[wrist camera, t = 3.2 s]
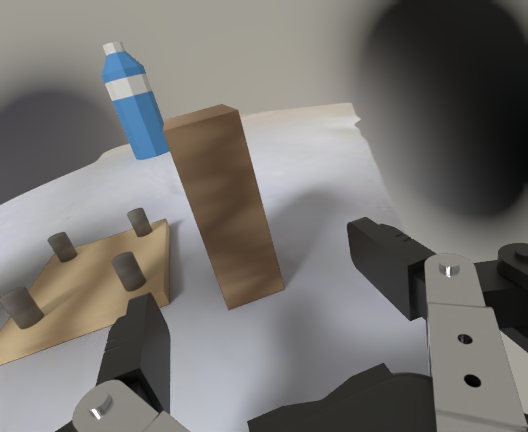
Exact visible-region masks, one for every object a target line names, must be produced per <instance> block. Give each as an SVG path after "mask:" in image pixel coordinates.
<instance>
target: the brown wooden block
mask: <svg viewBox="0 0 528 432" xmlns="http://www.w3.org/2000/svg"><path fill="white" fill-rule="evenodd" d="M163 133H164V136H165V139H166V141H167V144H168V147H169V150H170V152H171V155H172V158H173V161H174V163H175V166H176V169H177V171H178V174H179V177H180V180H181V182H182V185H183V188H184V190H185V193H186V196H187V199H188V201H189V204H190V207H191V209H192V212H193V215H194V218H195V220H196V223H197V226H198V228H199V231H200V234H201V237H202V239H203V242H204V245H205V247H206V250H207V253H208V256H209V258H210V261H211V264H212V267H213V269H214V272H215V275H216V277H217V280H218V283H219V286H220V288H221V291H222V294H223V296H224V299H225V302H226V305H227V307H228V310H231V309H233V308H236V307H239V306H241V305H244V304H247V303H249V302H252V301H255V300H257V299H260V298H263V297H265V296H268V295H271V294H273V293H276V292H279V291H281V290H284V285H283V281H282V277H281V273H280V269H279V265H278V262H277V258H276V254H275V250H274V246H273V242H272V239H271V235H270V231H269V227H268V223H267V219H266V215H265V212H264V208H263V204H262V200H261V196H260V192H259V189H258V185H257V181H256V177H255V173H254V169H253V165H252V162H251V158H250V154H249V150H248V146H247V142H246V139H245V135H244V131H243V127H242V123H241V119H240V115H239V112H238V110H237V109H234V108H231V107H228V106H225V105H223V104H221V105H217V106H214V107H210V108H207V109H203V110H199V111H196V112H192V113H188V114H184V115H181V116H177V117H174V118H170V119H167V120H165V121H164V127H163Z"/></svg>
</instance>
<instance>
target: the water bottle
mask: <svg viewBox="0 0 528 432" xmlns="http://www.w3.org/2000/svg"><path fill="white" fill-rule="evenodd" d="M103 48H104V51H105V53H106V60H105V64H104V68H103V73H102V78H103V80H104V83H105V85H106V88H107V90H108V92H109V95H110V97H111V100H112V102H113V104H114V107H115V109H116V111H117V114H118V116H119V119H120V121H121V123H122V126H123V128H124V130H125V133H126V135H127V138H128V140H129V143H130V145H131V147H132V150H133V152H134V155H135V157H136V159H147V158H151V157H155V156H158V155H161V154H163V153H166V152H168V151H170V150H169V147H168V144H167V141H166V139H165V136H164V133H163V127H164V122H163V120H162V117H161V114H160V111H159V109H158V106H157V103H156V100H155V97H154V94H153V92H152V89H151V86H150V83H149V81H148V78H147V75H146V72H145V70H144V67H143V65H141V64H140V63H139V62H138V61H136V60H135V59H134V58H133V57H131V56H130V55H129V54H128V53H127V52H126V51H125V49H124V46H123V44H122V42H113V43H109V44H105V45H104V46H103Z"/></svg>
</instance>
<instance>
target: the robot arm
mask: <svg viewBox="0 0 528 432" xmlns="http://www.w3.org/2000/svg"><path fill="white" fill-rule="evenodd" d="M347 232H348V239H349V246H350V254H351V258H352V261H353V263H354V265H355V267H356V268H357V269H358V270H359V271H360V272H361V273H362V274H363V275H364V276H365V277H366V278H367V279H368V280H369V281H370V282H371V283H372V284H373V285H374V286H375V287H376V288H377V289H378V290H379V291H380V292H381V293H382V294H383V295H384V296H385V297H386V298H387V299H388V300H389V301H390V302H391V303H392V304H393V305H394V306H395V307H396V308H397V309H398V310H399V311H400V312H401V313H402V314H403V315H404V316H405V317H406V318H407V319H408V320H409V321H412V320H415V319H417V318H420V317H423V318H424V319H425V320H426V338H427V356H428V375H429V376H426V375H422V374H416V373H405V372H404V373H391V372H390V371H389V369H388V368H387V367H386V365H385V364H384V363H382V364H380V365H377V366H375V367H373V368H370V369H368V370H366V371H363V372H361V373H359V374H356V375H354V376H352V377H350V378H349V379H348V380H347V381H345V382H344V383H343V384H342V385H340V386H339V387H338V388H337V389H335V390H334V391H333V392H331V393H330V394H329V395H328V396H326V397H325V398H324V399H322V400H319V401H313V402H306V403H300V404H294V405H287V406H282V407H280V408H277V409H275V410H273V411H270V412H268V413H266V414H263V415H261V416H259V417H256V418H254V419H252V420H249V421H247V423H248V427H249V431H250V432H528V414H525V413H524V412H523V410H522V406H521V403H520V399H519V396H518V392H517V389H516V385H515V382H514V379H513V375H512V372H511V369H510V365H509V362H508V358H507V355H506V351H505V348H504V345H503V341H502V338H501V334H500V331H502V332H503V333H504V334H505V335H507V336H508V337H509V338H510V339H512V340H513V341H514V342H515V343H516V344H518V345H519V346H520V347H521V348H523V349H524V350H525V351H527V352H528V244H526V243H514V244H508V245H505V246H503V247H501V248H500V249H499V251H498V260H494V261H486V262H480V263H472V262H471V261H470V260H469V259H467V258H465V257H463V256H460V255H456V254H448V253H444V254H436V253H434V252H432V251H431V250H430V249H428V248H426V247H425V246H423V245H421V244H420V243H418V242H417V241H415V240H414V239H411V237H409V236H408V235H406V234H404V233H403V232H401V231H400V230H398V229H396V228H395V227H392V226H388V225H385V224H380V225H378V224H376V223H375V222H373V221H372V220H370V219H369V218H367V217H363V218H360V219H357V220H355V221H352V222H349V223H348V224H347ZM499 330H500V331H499ZM55 432H190V431H189V430H187V429H186V428H185V427H184V426H183V425H181V424H180V423H179V422H178V421H177V420H175V419H174V418H173V417H172V416H171V415H170V333H169V329H168V326H167V323H166V321H165V319H164V317H163V315H162V313H161V311H160V309H159V307H158V305H157V303H156V300H155V298H154V296H153V295H152V293H150V292H149V293H146V294H143V295H140V296H137V297H134V298H131V299H129V301H128V306H127V311H126V315H124V316H121V317H119V318H118V319H117V320H116V322H115V323H114V324H113V326H112V327H111V329H110V331H109V335H108V339H107V343H106V347H105V353H104V355H103V359H102V363H101V367H100V371H99V375H98V379H97V383H96V386H95V387H94V388H93V389H92V390H90V391H89V392H88V393H87V394H86V395H85V396H84V397H83V398H82V399H81V401H80V402H79V403H78V405H77V407H76V408H75V411H74V413H73V417H72V420H71V421H70V422H69V423H67V424H66V425H64V426H63V427H61V428H60V429H58V430H57V431H55Z"/></svg>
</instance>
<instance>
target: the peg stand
mask: <svg viewBox="0 0 528 432" xmlns="http://www.w3.org/2000/svg"><path fill="white" fill-rule="evenodd" d="M127 216H128V218H129V220H130V222H131V224H132V226H133V229H132V230H129V231H126V232H122V233H119V234H116V235H113V236H110V237H107V238H104V239H101V240H98V241H95V242H91V243H88V244H85V245H82V246H79V247H76V248H74V247H73V245H72V243H71V242H70V240H69V238H68V236H67V235H66V233H65V232H61V233H58V234H55V235H53V236H51V237H50V238H49V239H48V242H49V244H50V245H51V247H52V248H53V250H54V252H55V253H56V254H54V255H53V256H52V258H51V259H50V261H49V262H48V263H47V265H46V266H45V268H44V269H43V271H42V272H41V274H40V275H39V276H38V278H37V279H36V281H35V282H34V284H33V285H32V286H31V288H30V289H29V291H27V289H26V288H25V287H18V288H15V289H13V290H11V291H9V292H7V293H6V294H5V295H3V296H2V297H1V298H0V303H1V304H2V306H3V307H4V308H5V310H6V311H7V312H8V314H9V315H10V316H11V317H10V318H9V319H8V321H7V322H6V324H5V325H4V327H3V328H2V330H1V331H0V365H2V364H5V363H8V362H10V361H13V360H16V359H19V358H21V357H24V356H27V355H30V354H32V353H35V352H38V351H41V350H43V349H46V348H49V347H52V346H54V345H57V344H60V343H63V342H66V341H68V340H71V339H74V338H77V337H79V336H82V335H85V334H88V333H90V332H93V331H96V330H99V329H101V328H104V327H107V326H110V325H112V324H114V323H115V322H116V320H117V319H118V318H119V317H121V316H124V315H126V311H127V306H128V301H129V299H131V298H134V297H137V296H140V295H143V294H146V293H149V292H150V293H152V295H153V296H154V298H155V300H156V303H157V305H158V307H162V306H165V305H168V304H169V282H170V227H169V225H168V222H167V220H166V219H163V220H160V221H157V222H153V223H150V224H149V221H148V219H147V217H146V214H145V212H144V210H143V208H137V209H134V210H132V211H130V212H129V213H128V214H127Z"/></svg>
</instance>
